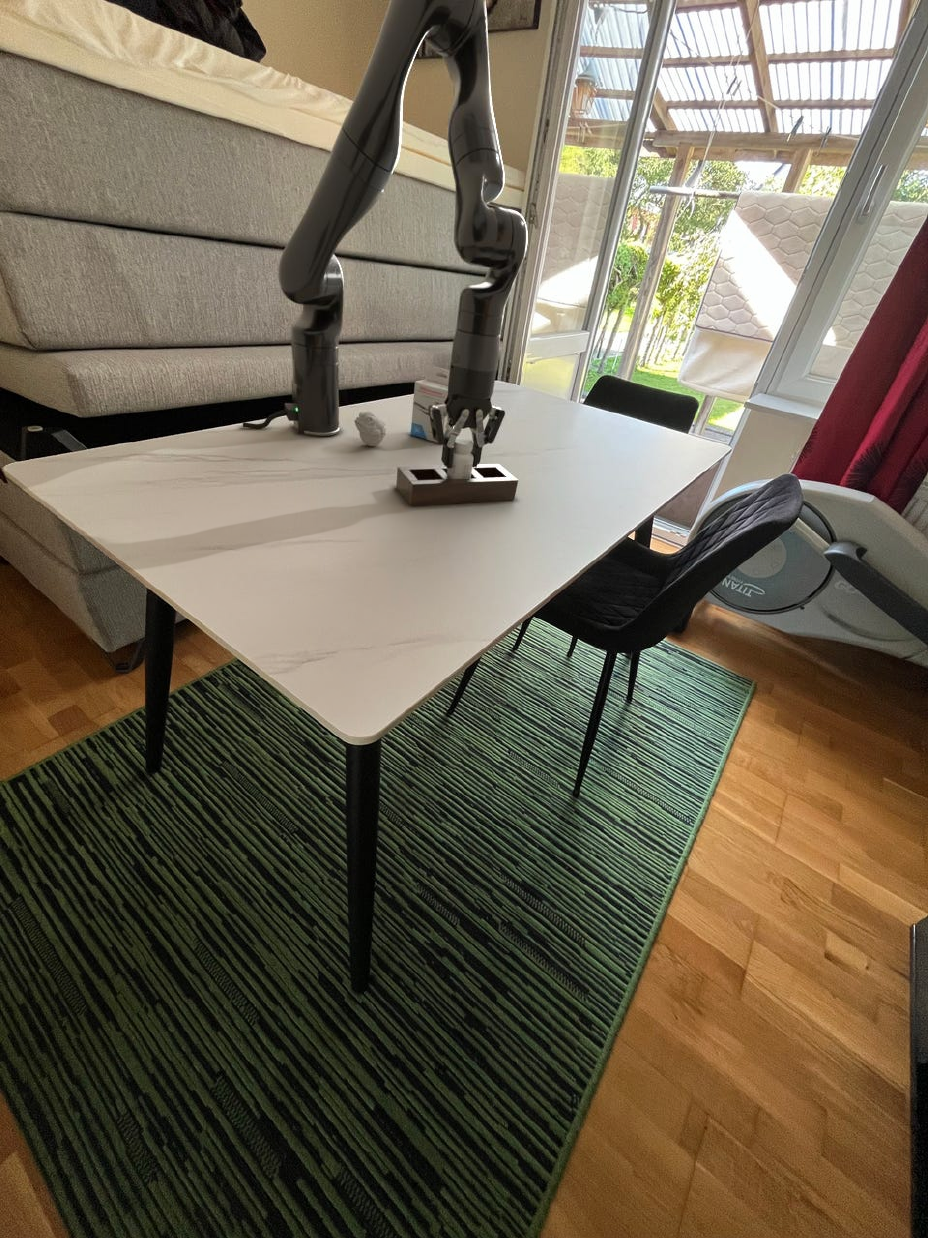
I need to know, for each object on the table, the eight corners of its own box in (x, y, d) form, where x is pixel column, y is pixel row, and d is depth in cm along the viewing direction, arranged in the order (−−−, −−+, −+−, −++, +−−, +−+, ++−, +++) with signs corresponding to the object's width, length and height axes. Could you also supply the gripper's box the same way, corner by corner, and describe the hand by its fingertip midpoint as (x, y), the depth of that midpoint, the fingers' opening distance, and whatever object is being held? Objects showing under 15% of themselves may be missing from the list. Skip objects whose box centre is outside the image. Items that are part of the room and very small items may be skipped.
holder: (514, 500, 98) (518, 480, 95) (410, 506, 89) (412, 484, 87) (495, 483, 103) (498, 463, 101) (396, 487, 95) (397, 466, 92)
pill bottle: (470, 480, 97) (476, 439, 92) (468, 489, 93) (474, 447, 89) (447, 476, 97) (452, 435, 92) (444, 485, 93) (449, 442, 89)
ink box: (409, 435, 120) (414, 366, 111) (419, 430, 124) (425, 363, 115) (442, 444, 118) (449, 375, 109) (451, 439, 121) (459, 372, 113)
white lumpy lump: (348, 442, 110) (348, 408, 106) (375, 439, 114) (376, 406, 110) (363, 452, 107) (364, 417, 103) (391, 448, 111) (393, 415, 107)
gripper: (501, 360, 89) (485, 457, 99) (424, 355, 83) (415, 459, 93) (523, 371, 83) (503, 472, 93) (442, 366, 78) (431, 475, 88)
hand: (460, 465), depth 93 cm, fingers closed on pill bottle, 4 cm apart
